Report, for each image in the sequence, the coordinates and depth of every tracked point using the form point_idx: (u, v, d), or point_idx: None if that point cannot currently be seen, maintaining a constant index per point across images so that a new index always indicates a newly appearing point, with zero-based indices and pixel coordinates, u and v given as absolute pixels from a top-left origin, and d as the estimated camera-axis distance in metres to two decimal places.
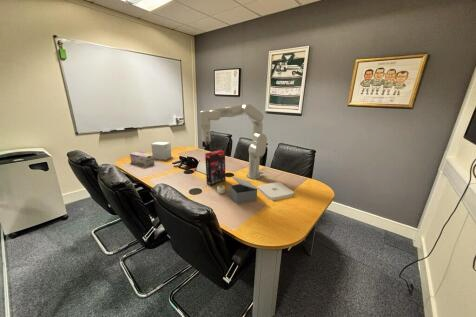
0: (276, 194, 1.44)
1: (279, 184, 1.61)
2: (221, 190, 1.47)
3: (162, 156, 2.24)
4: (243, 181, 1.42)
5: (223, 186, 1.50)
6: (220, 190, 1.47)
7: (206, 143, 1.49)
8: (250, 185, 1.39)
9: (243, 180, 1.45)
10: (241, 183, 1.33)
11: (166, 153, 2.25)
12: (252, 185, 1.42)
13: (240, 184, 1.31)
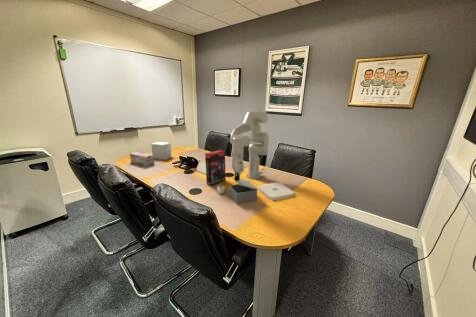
0: (276, 194, 1.44)
1: (279, 184, 1.61)
2: (221, 190, 1.47)
3: (162, 156, 2.24)
4: (243, 181, 1.42)
5: (223, 186, 1.50)
6: (220, 190, 1.47)
7: None
8: (250, 185, 1.39)
9: (243, 180, 1.45)
10: (241, 184, 1.33)
11: (166, 153, 2.25)
12: (252, 185, 1.42)
13: (240, 184, 1.31)
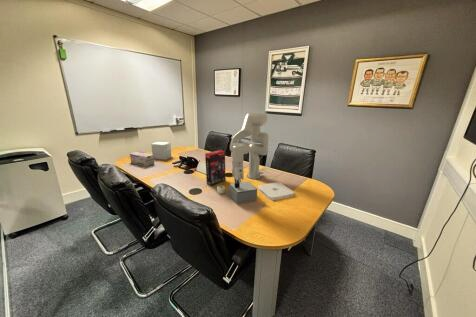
0: (276, 194, 1.44)
1: (279, 184, 1.61)
2: (221, 190, 1.47)
3: (162, 156, 2.24)
4: (242, 185, 1.42)
5: (223, 186, 1.50)
6: (220, 190, 1.47)
7: None
8: (249, 187, 1.39)
9: (242, 183, 1.45)
10: (239, 190, 1.34)
11: (166, 153, 2.25)
12: (251, 186, 1.42)
13: (238, 191, 1.32)
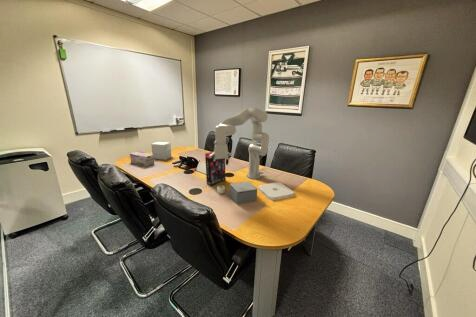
0: (276, 194, 1.44)
1: (280, 184, 1.61)
2: (221, 190, 1.47)
3: (162, 156, 2.24)
4: (242, 185, 1.42)
5: (223, 186, 1.51)
6: (220, 190, 1.47)
7: None
8: (249, 187, 1.39)
9: (242, 183, 1.45)
10: (239, 190, 1.34)
11: (166, 153, 2.25)
12: (251, 186, 1.42)
13: (238, 192, 1.32)
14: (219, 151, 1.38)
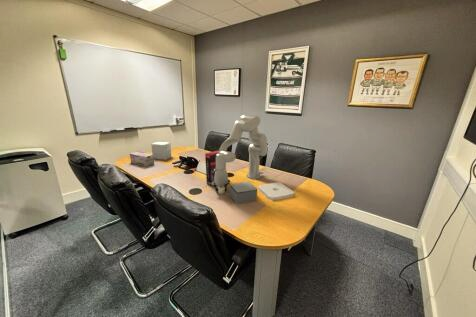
0: (276, 194, 1.44)
1: (280, 184, 1.61)
2: (221, 190, 1.47)
3: (162, 156, 2.24)
4: (242, 185, 1.42)
5: (223, 186, 1.50)
6: (220, 190, 1.47)
7: None
8: (249, 187, 1.39)
9: (242, 183, 1.45)
10: (239, 190, 1.34)
11: (166, 153, 2.25)
12: (251, 186, 1.42)
13: (238, 192, 1.32)
14: (220, 178, 1.44)
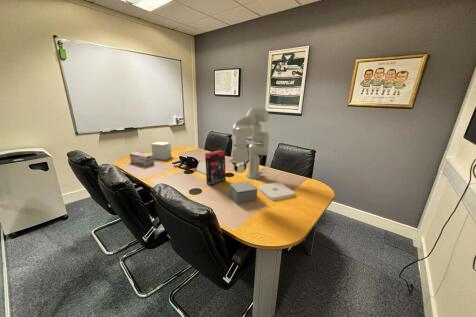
0: (276, 194, 1.44)
1: (280, 184, 1.61)
2: (241, 168, 1.34)
3: (162, 156, 2.24)
4: (242, 185, 1.42)
5: (242, 164, 1.37)
6: (239, 168, 1.34)
7: None
8: (249, 187, 1.39)
9: (242, 183, 1.45)
10: (239, 190, 1.34)
11: (166, 153, 2.25)
12: (251, 186, 1.42)
13: (238, 192, 1.32)
14: (240, 155, 1.31)
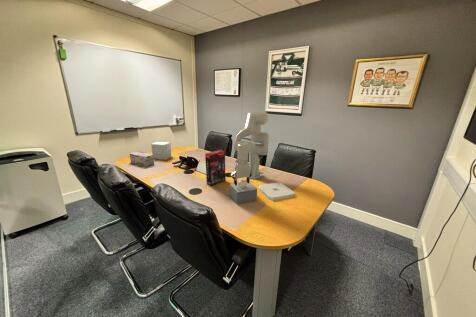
0: (276, 194, 1.44)
1: (280, 184, 1.61)
2: (242, 184, 1.37)
3: (162, 156, 2.24)
4: None
5: (244, 180, 1.40)
6: (241, 184, 1.37)
7: None
8: (249, 187, 1.39)
9: None
10: (239, 190, 1.34)
11: (166, 153, 2.25)
12: (251, 186, 1.42)
13: (238, 192, 1.32)
14: (241, 170, 1.33)
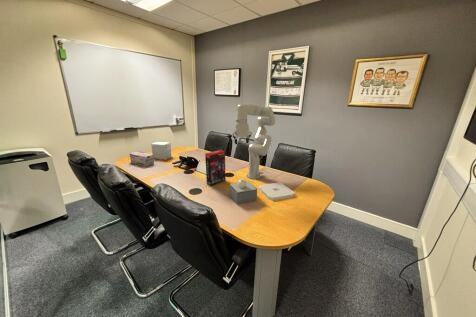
0: (276, 194, 1.44)
1: (280, 184, 1.61)
2: (242, 184, 1.37)
3: (162, 156, 2.24)
4: None
5: (244, 180, 1.40)
6: (241, 184, 1.37)
7: None
8: (249, 187, 1.39)
9: None
10: (239, 190, 1.34)
11: (166, 153, 2.25)
12: (251, 186, 1.42)
13: (238, 192, 1.32)
14: (241, 129, 1.45)
